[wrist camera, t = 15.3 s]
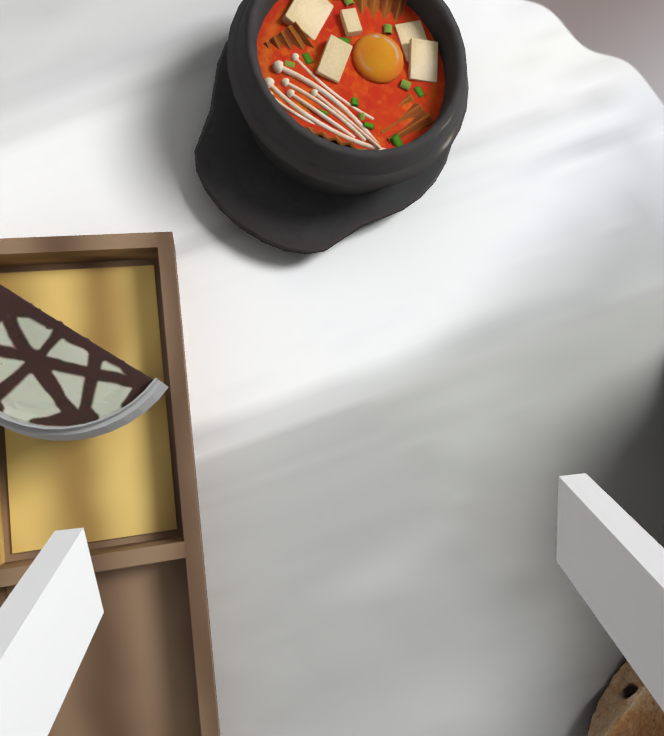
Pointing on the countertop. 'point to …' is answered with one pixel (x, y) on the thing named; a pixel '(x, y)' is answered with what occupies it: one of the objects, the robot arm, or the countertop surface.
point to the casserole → (330, 115)
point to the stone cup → (627, 708)
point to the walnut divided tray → (118, 491)
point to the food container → (63, 378)
